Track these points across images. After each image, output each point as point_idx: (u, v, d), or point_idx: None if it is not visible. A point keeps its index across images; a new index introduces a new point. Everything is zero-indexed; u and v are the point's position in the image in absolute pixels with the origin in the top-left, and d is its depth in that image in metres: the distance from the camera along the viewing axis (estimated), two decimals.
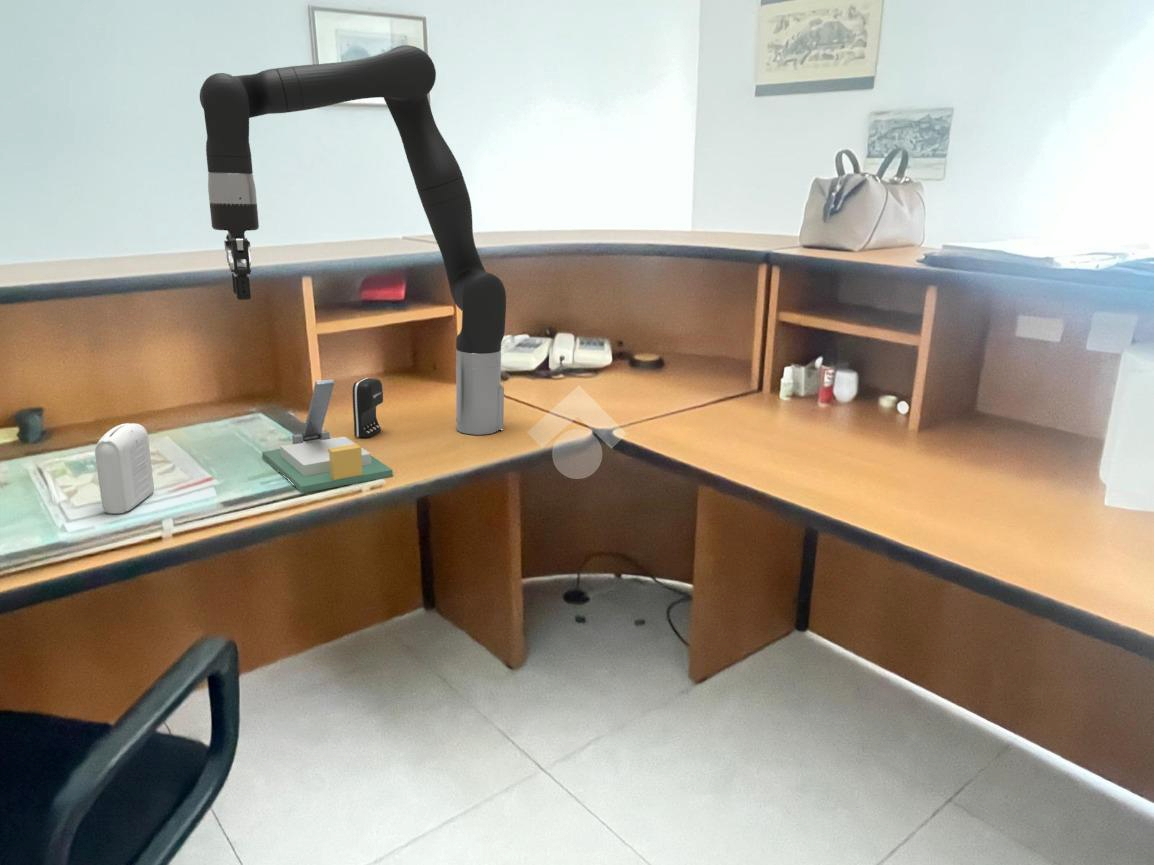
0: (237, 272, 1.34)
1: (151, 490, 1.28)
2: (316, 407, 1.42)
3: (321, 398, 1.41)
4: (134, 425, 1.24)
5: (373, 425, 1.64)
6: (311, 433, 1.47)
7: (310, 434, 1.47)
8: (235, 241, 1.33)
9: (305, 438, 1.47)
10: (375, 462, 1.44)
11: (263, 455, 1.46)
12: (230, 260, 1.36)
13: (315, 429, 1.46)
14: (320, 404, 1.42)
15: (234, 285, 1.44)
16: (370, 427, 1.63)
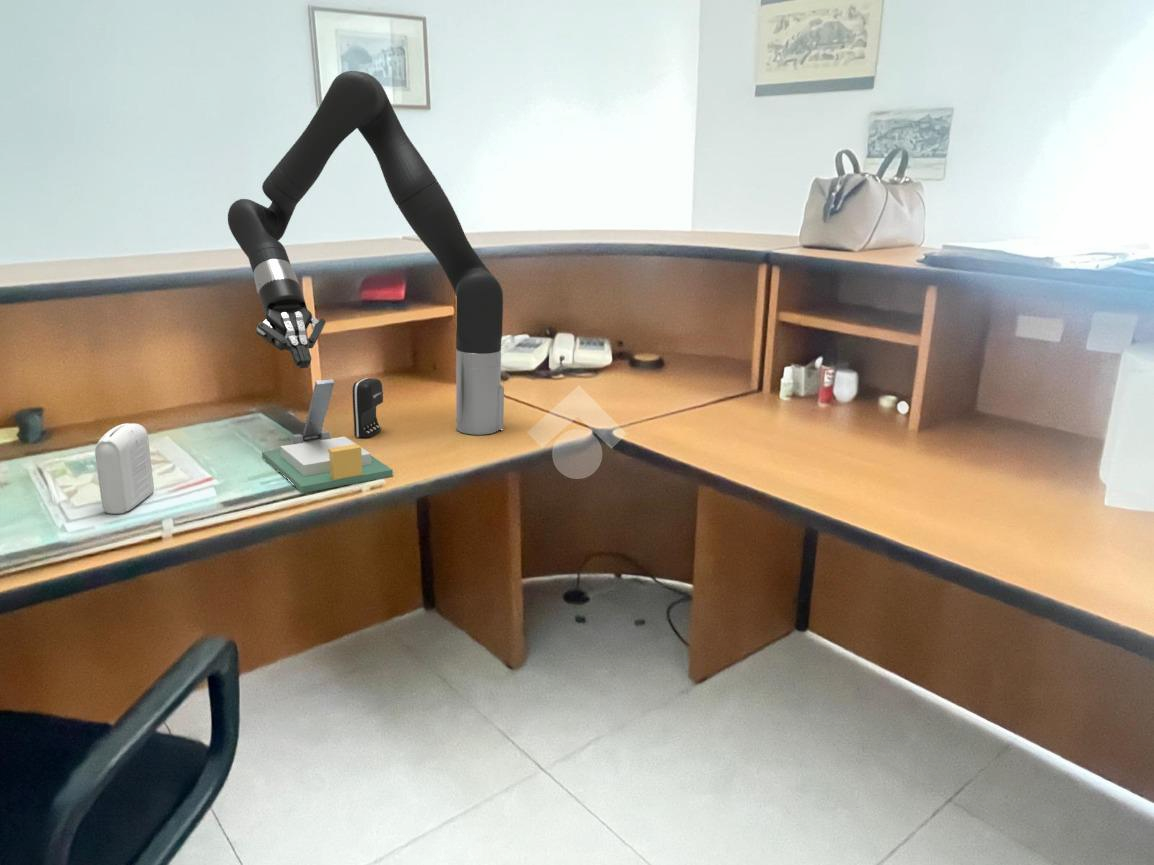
0: (279, 347, 1.45)
1: (151, 490, 1.28)
2: (316, 407, 1.42)
3: (321, 398, 1.41)
4: (134, 425, 1.24)
5: (373, 425, 1.64)
6: (311, 433, 1.47)
7: (310, 434, 1.47)
8: (257, 331, 1.45)
9: (305, 438, 1.47)
10: (375, 462, 1.44)
11: (263, 455, 1.46)
12: None
13: (315, 429, 1.46)
14: (320, 404, 1.42)
15: None
16: (370, 427, 1.63)
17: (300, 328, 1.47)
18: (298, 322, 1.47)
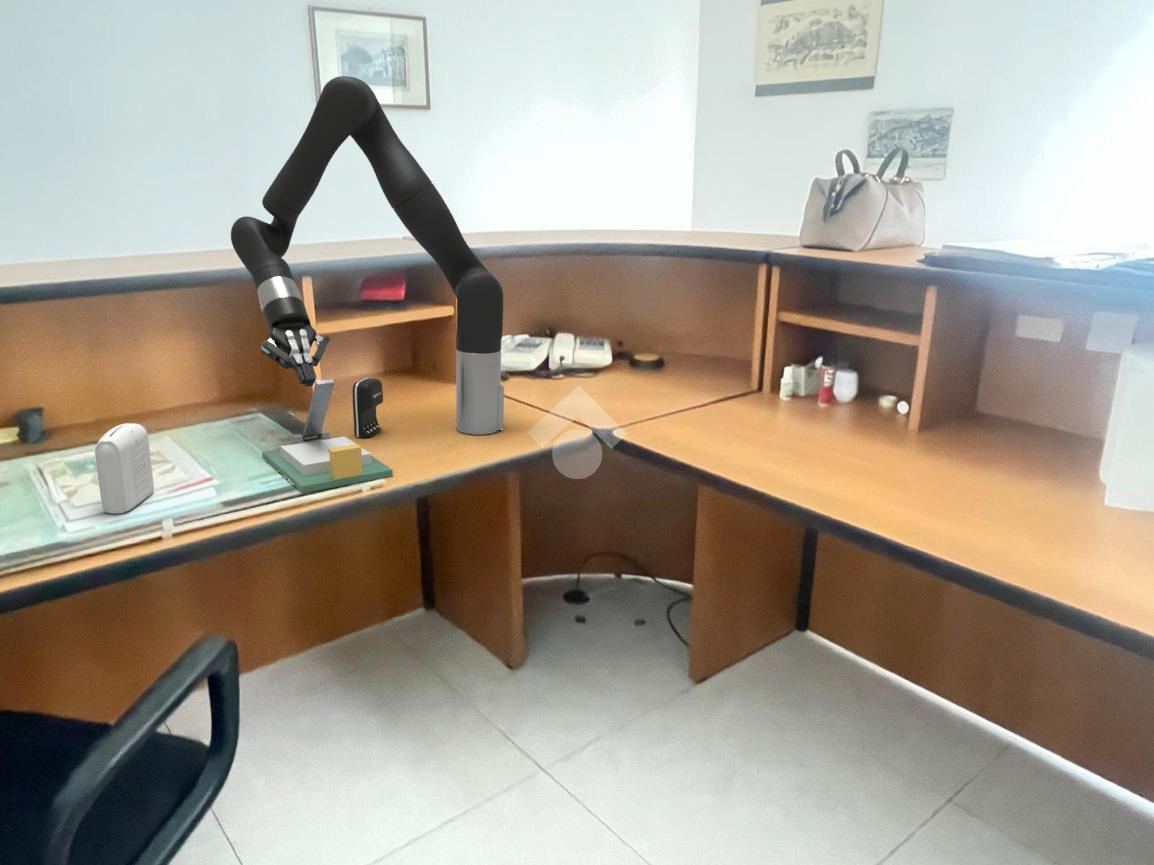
0: (283, 366, 1.45)
1: (151, 490, 1.28)
2: (316, 407, 1.42)
3: (321, 398, 1.41)
4: (134, 425, 1.24)
5: (373, 425, 1.64)
6: (311, 433, 1.47)
7: (310, 434, 1.47)
8: (262, 350, 1.44)
9: (305, 438, 1.47)
10: (375, 462, 1.44)
11: (263, 455, 1.46)
12: None
13: (315, 429, 1.46)
14: (320, 404, 1.42)
15: None
16: (370, 427, 1.63)
17: (305, 346, 1.46)
18: (302, 340, 1.47)
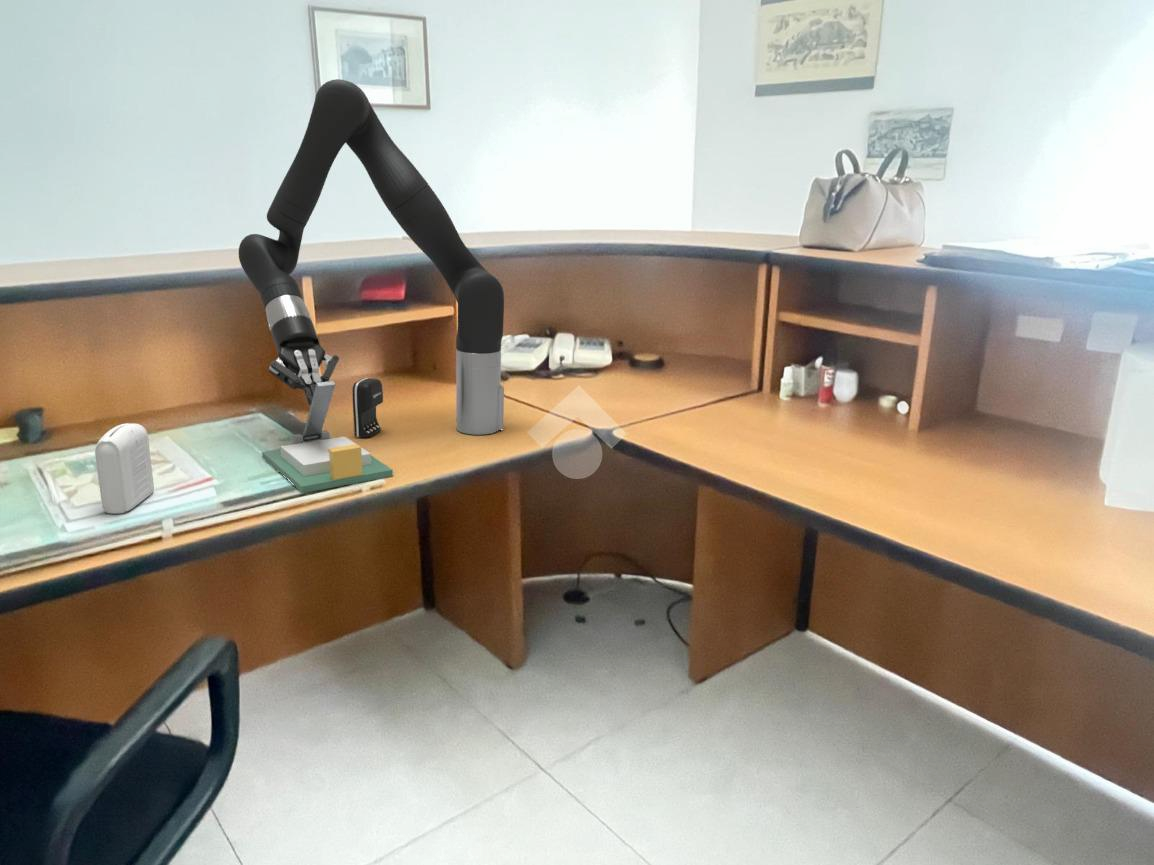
0: (292, 386, 1.43)
1: (151, 490, 1.28)
2: (316, 408, 1.42)
3: (322, 400, 1.40)
4: (134, 425, 1.24)
5: (373, 425, 1.64)
6: (311, 433, 1.47)
7: (310, 434, 1.47)
8: (270, 370, 1.42)
9: (305, 438, 1.47)
10: (375, 462, 1.44)
11: (263, 455, 1.46)
12: None
13: (315, 429, 1.46)
14: (321, 405, 1.42)
15: None
16: (370, 427, 1.63)
17: (313, 366, 1.44)
18: (311, 360, 1.44)
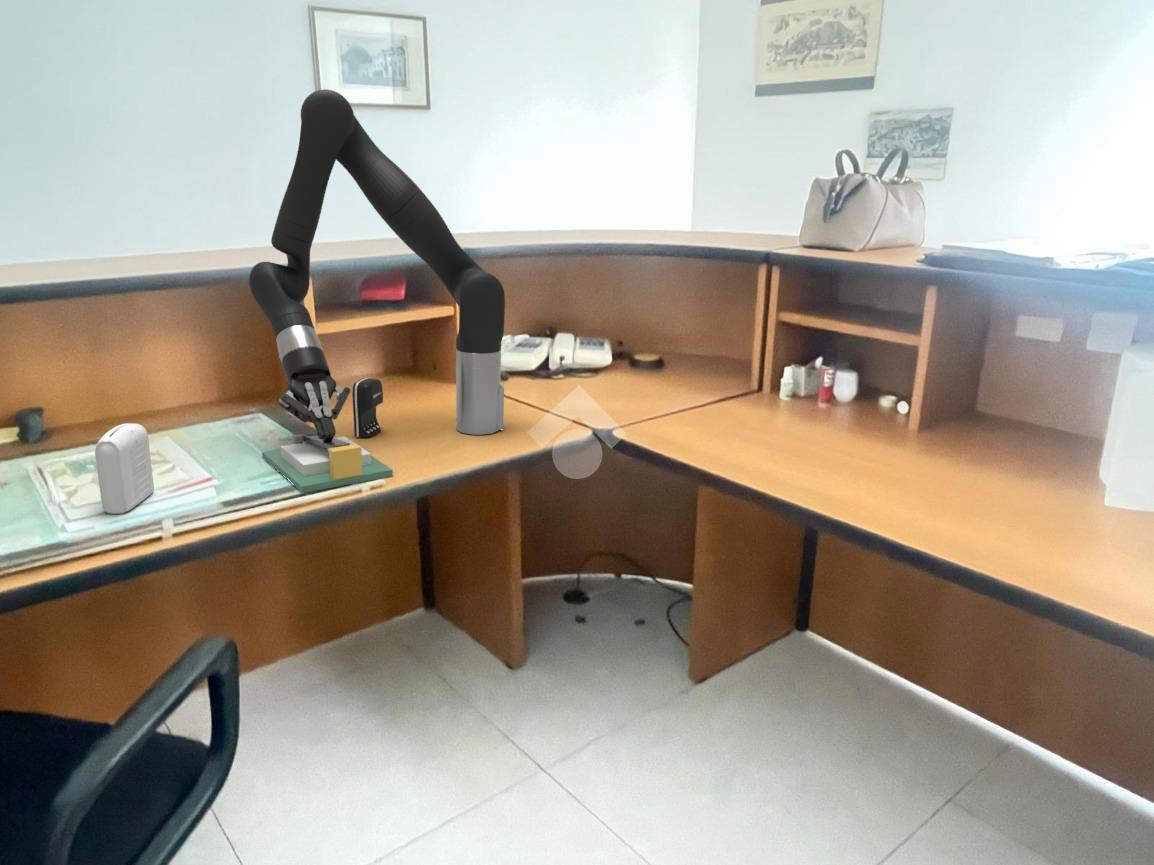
0: (302, 419, 1.40)
1: (151, 490, 1.28)
2: None
3: None
4: (134, 425, 1.24)
5: (373, 425, 1.64)
6: None
7: None
8: (280, 403, 1.39)
9: (305, 440, 1.47)
10: (375, 462, 1.44)
11: (263, 455, 1.46)
12: None
13: None
14: None
15: None
16: (370, 427, 1.63)
17: (324, 399, 1.41)
18: (322, 393, 1.41)
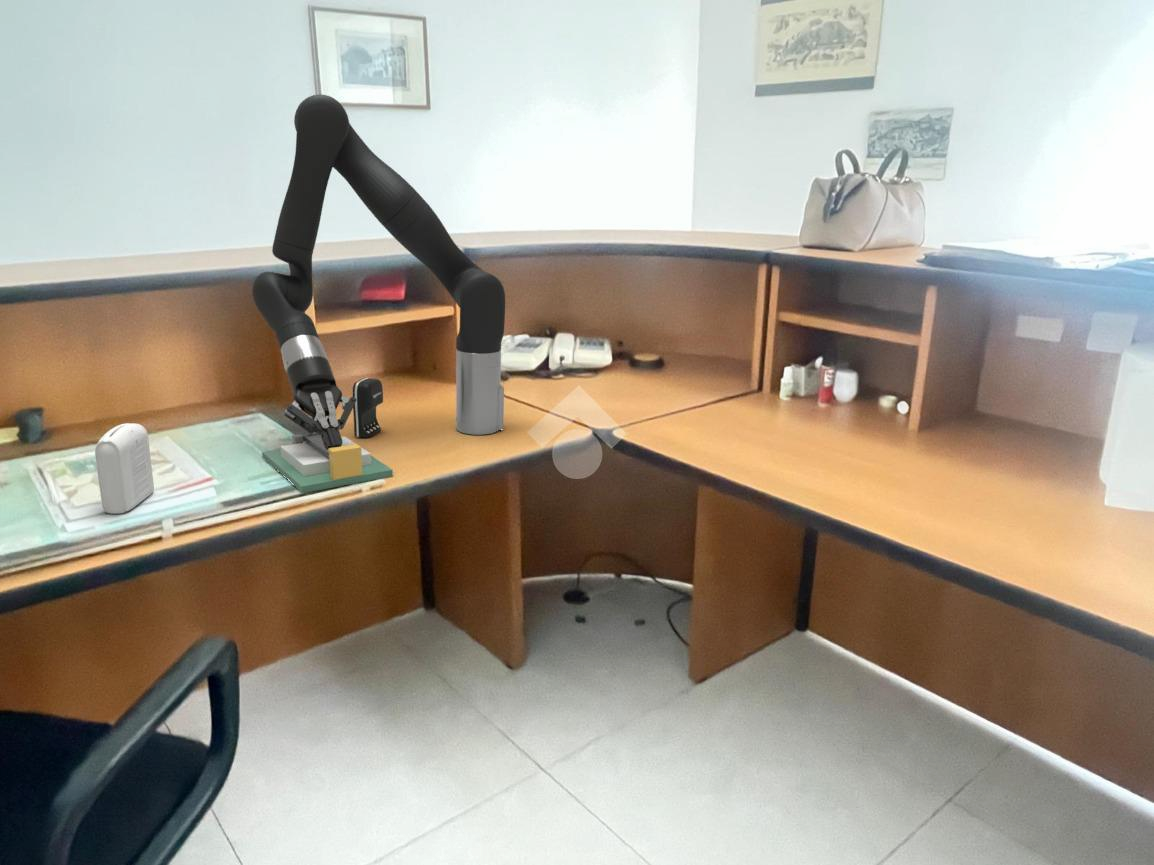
0: (308, 430, 1.38)
1: (151, 490, 1.28)
2: None
3: None
4: (134, 425, 1.24)
5: (373, 425, 1.64)
6: None
7: None
8: (286, 414, 1.38)
9: (305, 441, 1.47)
10: (375, 462, 1.44)
11: (263, 455, 1.46)
12: None
13: None
14: None
15: None
16: (370, 427, 1.63)
17: (330, 409, 1.40)
18: (328, 403, 1.40)
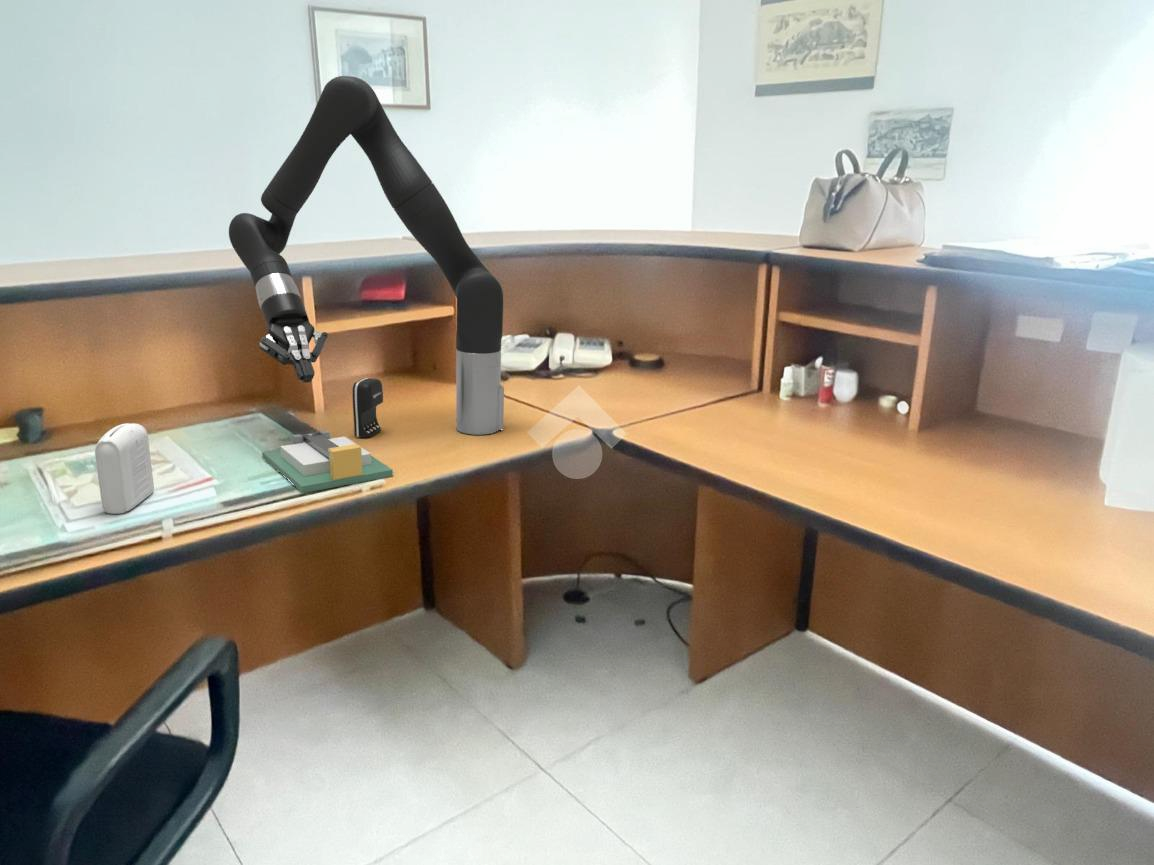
0: (282, 362, 1.45)
1: (151, 490, 1.28)
2: None
3: None
4: (134, 425, 1.24)
5: (373, 425, 1.64)
6: None
7: None
8: (260, 346, 1.45)
9: (305, 441, 1.47)
10: (375, 462, 1.44)
11: (263, 455, 1.46)
12: None
13: None
14: None
15: None
16: (370, 427, 1.63)
17: (303, 342, 1.47)
18: (300, 336, 1.47)
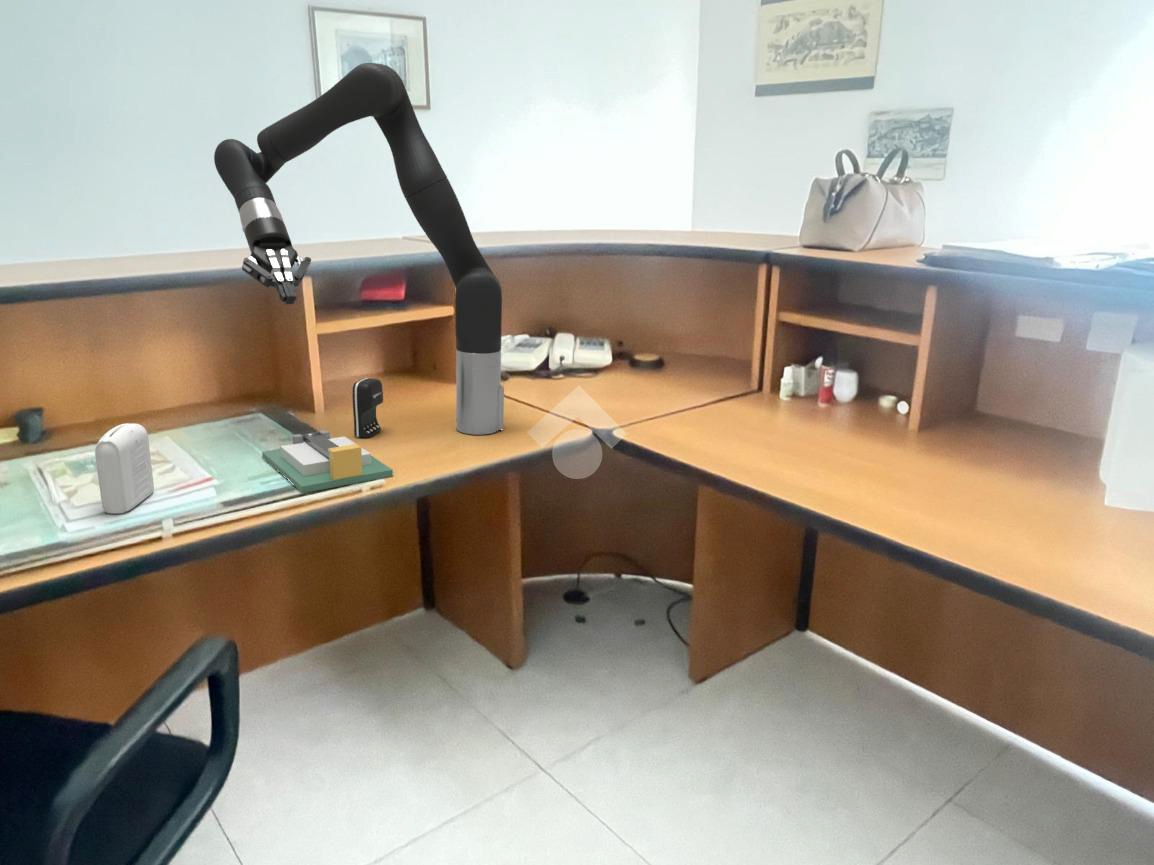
0: (264, 284, 1.47)
1: (151, 490, 1.28)
2: None
3: None
4: (134, 425, 1.24)
5: (373, 425, 1.64)
6: None
7: None
8: (243, 268, 1.46)
9: (305, 441, 1.47)
10: (375, 462, 1.44)
11: (263, 455, 1.46)
12: None
13: None
14: None
15: None
16: (370, 427, 1.63)
17: (285, 265, 1.48)
18: (283, 259, 1.48)
